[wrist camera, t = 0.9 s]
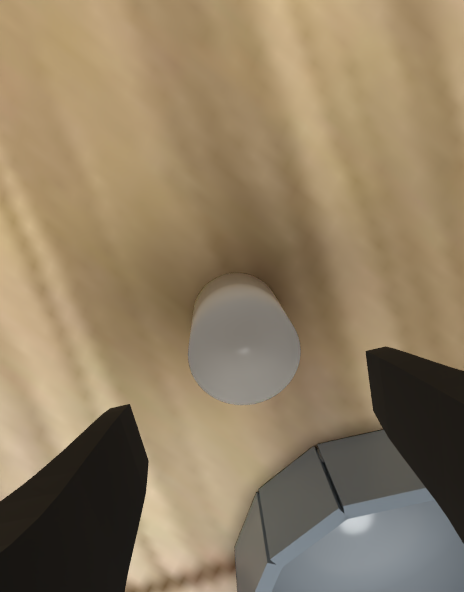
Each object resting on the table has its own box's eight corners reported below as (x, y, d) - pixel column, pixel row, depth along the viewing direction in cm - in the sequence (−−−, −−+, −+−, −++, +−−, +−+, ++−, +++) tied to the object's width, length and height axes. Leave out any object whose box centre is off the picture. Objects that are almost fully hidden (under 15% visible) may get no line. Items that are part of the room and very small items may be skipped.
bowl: (495, 404, 22) (563, 457, 18) (501, 612, 27) (557, 694, 22) (211, 467, 22) (212, 535, 18) (266, 663, 27) (277, 755, 23)
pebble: (269, 264, 19) (290, 289, 15) (285, 343, 21) (308, 391, 16) (183, 283, 19) (175, 315, 15) (204, 362, 21) (202, 415, 16)
